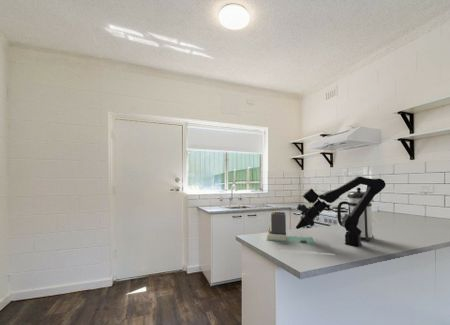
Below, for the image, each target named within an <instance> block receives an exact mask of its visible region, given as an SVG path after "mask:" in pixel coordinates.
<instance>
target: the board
mask: <svg viewBox="0 0 450 325" xmlns="http://www.w3.org/2000/svg"><path fill="white" fill-rule="evenodd" d="M270 229H271V226H270V227H268V229H267V231H268V232H267V235H266V241H267V242H281V243H293V244H294V243H296V244H309V245H316V244H317V243H316V242H315V240H314V238H313V236H301V235H300V236H299V235H298V236H297V235H287V234H286V235H282V234H271V230H270Z"/></svg>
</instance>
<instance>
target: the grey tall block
mask: <svg viewBox="0 0 450 325" xmlns="http://www.w3.org/2000/svg"><path fill="white" fill-rule="evenodd" d="M270 214H271V217H270V221H271V222H270V223H271V224H270V225H271V226H270V229H271V230H270V231H271V234H282V235H286V236H287V226H286V225H287V224H286V222H287V220H286V213H285V211H274V210H273V211H271V213H270Z"/></svg>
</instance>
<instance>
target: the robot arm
mask: <svg viewBox="0 0 450 325" xmlns="http://www.w3.org/2000/svg"><path fill="white" fill-rule="evenodd" d="M360 185H364V186H366V189H365V191H364V192H365V194H364V195H363V196H362V198H361V199H360V201H359V202H358V204H357V205H356V207H355V208H354V209H353V211H352V212H351V213H350V214H349V215H348V214H347V213H345V214H344V216H343V217H341V222H342V226H341V227H343V228H344V229H345V231H346V232H345V234H344V240H345V242H344V245H348V246H352V247H353V246H354V247H361V246H362V245H363V243H362V242H361V238H362V237H361V232H362V231H361V230H360V229H359V228H358V227H357V225H358V222H359V218H360V216H361V215H362V213H363V212H364V210H365V209H366V207H367V206H368V204H369V203H370V202H371V200H372V199H373V200H374V197H375V196H376V195H377V194H379V193H381V192H382V191H383V190H384V188H386V181H385V180H384V179H382V178H367V177H363V176H356V177H354V178H352V179H351V180H349V181H348V182H346V183H344V184H343V185H340V186H339V187H338V188H335V189H331V190H328V191H325V192H324V193H322V194H318V193H317V192H316V191H315V190H314V189H313V188H309V190H307V191H305V193H304V194H303V195H302V198H304V200H306V201H307V202H308V203H309V204H312V205H311V206H308V207H307V206H306V205H305V204H301V203H298V204H297V207H296V210H297V211H301V212H300V219H299V221H298V223H297V225H296V226H295V228H296V230H298V229H301V228H304V227H307V226H310V227H313V226H315V219H316V218H317V217H320V214H321V213H322V212H323V211H324V210H325V209H327V210H329V211H330V210H331V208H330V206H331V205H330V204H333V203H334V202H335V201H337V200H338V199H339V198H340V197H341V196H342V195H344V194H345V193H347V192H350V191H351V190H352V189H355V188H357V187H358V186H360ZM321 200H322V201H321ZM327 203H328V204H327ZM371 203H372V202H371Z"/></svg>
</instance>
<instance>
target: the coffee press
mask: <svg viewBox="0 0 450 325" xmlns="http://www.w3.org/2000/svg"><path fill="white" fill-rule="evenodd" d="M365 192H366V191H362V188H361V187H356V191H349V192H348V194H347V195H346V198H347V201H340V202H339V203H338V204H337V207H336V208H337V212H336V214H337V222H338V225H339V226H341V227H343V226H342V212H341V211H342V210H341V209H342V206H343V205H347V213H348V215H349V214H350V213H351V212H352V211H353V209H354V208H355V207H356V205H357V204H358V202H359V201H360V199H361V198H362V196H363V195H364V194H365ZM373 203H375V200H374V198H373V199H372V200H371V202H370V203H369V204H368V206H367V207H366V209H365V210H364V212H363V213H362V215H361V216H360V218H359V222H358V225H357V227H358V228H359V229H360V230H361V231H362V232H361V238H363V239H364V241H365V242H369V241H370V239H374V238H375V236H374V234H373V221H372V220H373V219H372V204H373Z"/></svg>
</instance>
